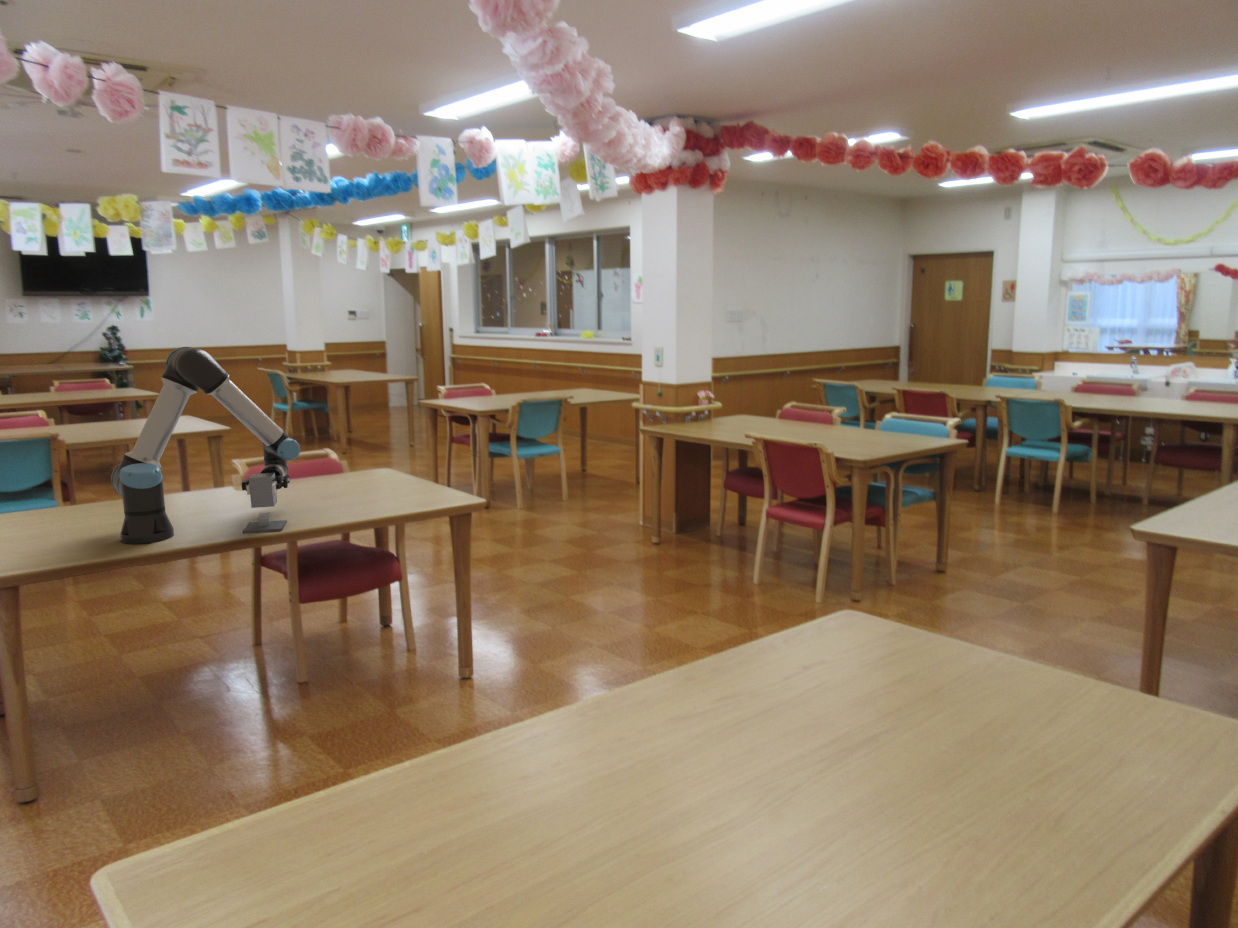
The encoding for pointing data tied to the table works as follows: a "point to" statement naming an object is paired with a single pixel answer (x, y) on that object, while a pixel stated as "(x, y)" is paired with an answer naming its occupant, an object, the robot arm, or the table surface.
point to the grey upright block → (262, 490)
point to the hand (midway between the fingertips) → (260, 490)
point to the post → (264, 519)
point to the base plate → (265, 527)
